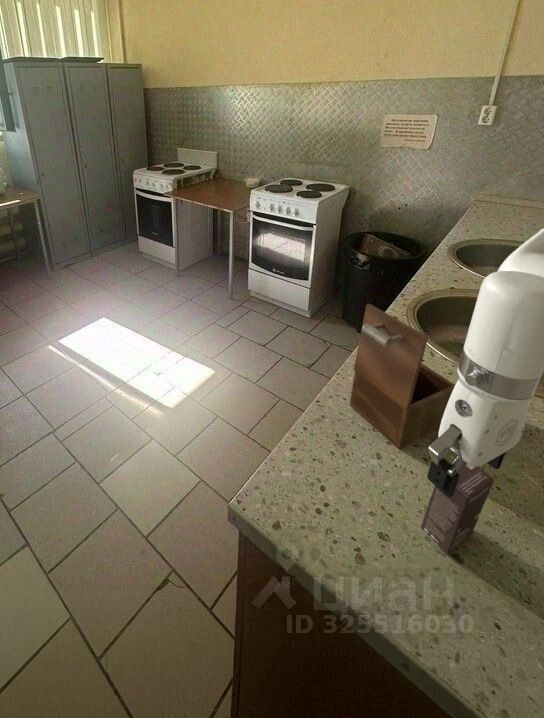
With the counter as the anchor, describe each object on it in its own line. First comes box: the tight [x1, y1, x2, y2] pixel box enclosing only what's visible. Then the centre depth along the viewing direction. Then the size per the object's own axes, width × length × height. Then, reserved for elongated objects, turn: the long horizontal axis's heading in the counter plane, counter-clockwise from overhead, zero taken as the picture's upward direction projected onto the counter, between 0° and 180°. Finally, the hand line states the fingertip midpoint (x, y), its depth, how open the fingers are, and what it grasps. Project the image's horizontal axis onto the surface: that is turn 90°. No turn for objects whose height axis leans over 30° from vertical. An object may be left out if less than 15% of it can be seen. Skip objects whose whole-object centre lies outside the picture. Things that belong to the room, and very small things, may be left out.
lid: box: [353, 303, 429, 410], centre depth 70 cm, size 15×12×5 cm
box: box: [419, 462, 495, 556], centre depth 56 cm, size 6×4×12 cm
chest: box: [349, 362, 456, 450], centre depth 77 cm, size 14×12×9 cm
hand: (463, 473), depth 54 cm, fingers open, 9 cm apart
